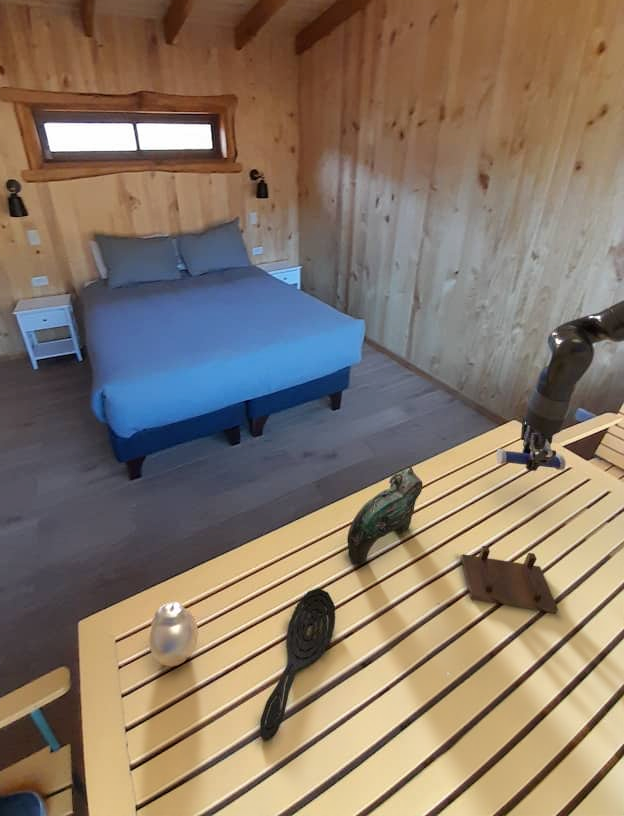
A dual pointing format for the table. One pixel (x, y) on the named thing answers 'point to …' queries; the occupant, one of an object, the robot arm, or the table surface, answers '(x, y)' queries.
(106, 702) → the table surface
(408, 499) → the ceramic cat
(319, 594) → the hairbrush
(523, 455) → the handle
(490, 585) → the holder
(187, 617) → the silver rounded egg shape
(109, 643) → the table surface
